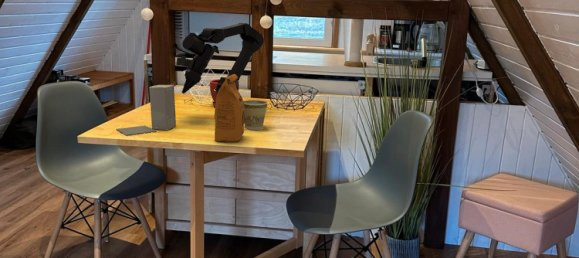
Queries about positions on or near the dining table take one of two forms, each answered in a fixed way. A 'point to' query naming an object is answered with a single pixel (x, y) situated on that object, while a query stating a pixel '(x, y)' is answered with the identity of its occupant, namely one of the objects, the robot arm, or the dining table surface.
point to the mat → (135, 130)
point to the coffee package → (229, 112)
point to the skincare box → (162, 107)
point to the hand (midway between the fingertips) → (182, 93)
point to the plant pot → (213, 87)
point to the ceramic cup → (254, 114)
